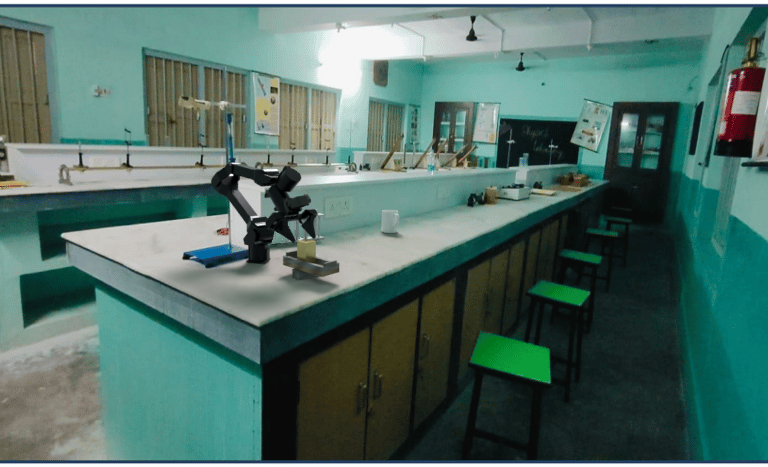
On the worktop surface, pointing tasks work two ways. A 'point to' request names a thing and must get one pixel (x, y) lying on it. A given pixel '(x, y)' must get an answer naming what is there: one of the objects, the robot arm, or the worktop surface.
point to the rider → (306, 250)
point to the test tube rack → (306, 232)
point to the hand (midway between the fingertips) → (304, 239)
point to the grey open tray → (309, 266)
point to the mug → (389, 221)
